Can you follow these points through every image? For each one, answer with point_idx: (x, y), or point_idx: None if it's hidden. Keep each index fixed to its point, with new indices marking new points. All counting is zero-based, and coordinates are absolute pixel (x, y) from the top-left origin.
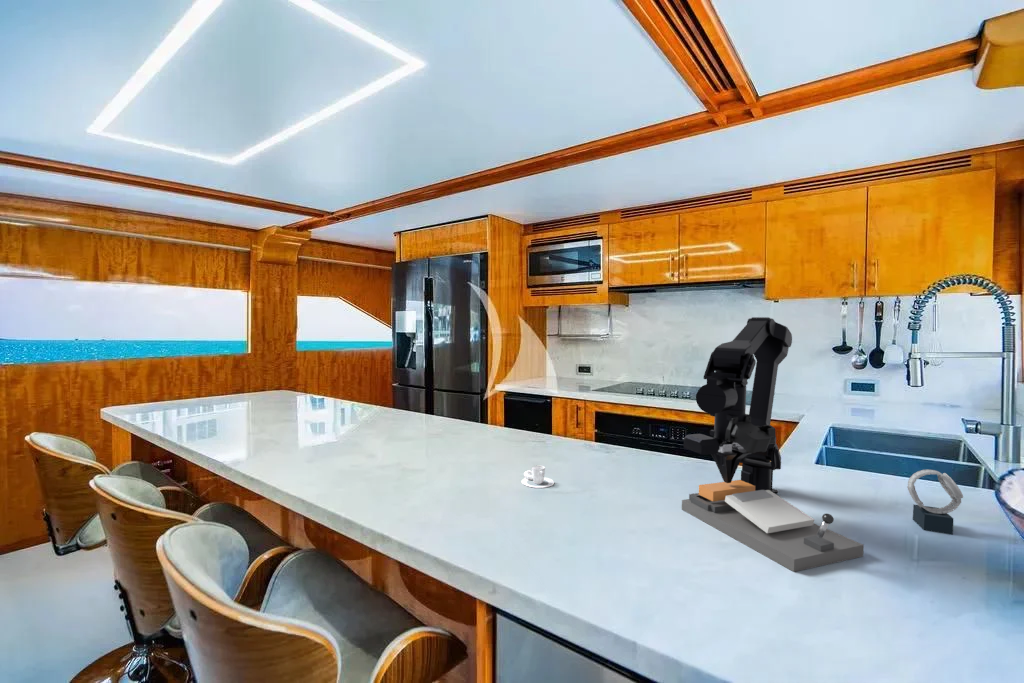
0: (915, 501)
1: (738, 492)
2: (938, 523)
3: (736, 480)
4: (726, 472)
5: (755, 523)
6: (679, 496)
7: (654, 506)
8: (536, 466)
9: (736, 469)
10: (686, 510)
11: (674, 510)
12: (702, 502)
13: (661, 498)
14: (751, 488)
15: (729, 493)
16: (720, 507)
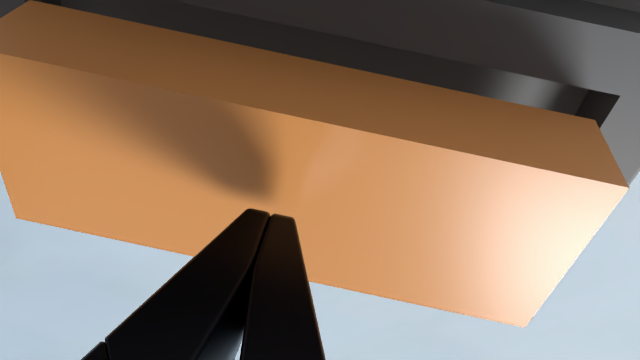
0: None
1: (243, 77)
2: None
3: (64, 225)
4: (317, 339)
5: None
6: (361, 311)
7: (628, 314)
8: None
9: (124, 321)
10: None
11: (599, 241)
12: (637, 168)
13: (475, 339)
14: (36, 46)
15: (375, 106)
16: (605, 23)
